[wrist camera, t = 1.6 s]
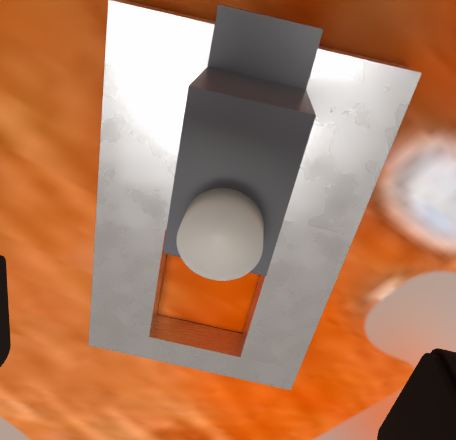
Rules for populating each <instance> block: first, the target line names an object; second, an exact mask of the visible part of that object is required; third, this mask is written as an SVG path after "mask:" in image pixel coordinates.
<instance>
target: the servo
mask: <svg viewBox="0 0 456 440" xmlns="http://www.w3.org/2000/svg"><path fill="white" fill-rule="evenodd" d="M322 33H323V29H322V28H319V27H314V26H310V25H306V24H301V23H297V22H293V21H289V20H284V19H280V18H276V17H272V16H267V15H263V14H259V13H255V12H250V11H246V10H242V9H238V8H233V7H229V6H225V5H220V4H218V8H217V14H216V19H215V25H214V31H213V37H212V43H211V48H210V54H209V60H208V66H207V68H206V69H205V70H204V71H203V72H202V73H201V74H200V75H199V76H198V77H197V78H196V79H195V80H194V81H193V82H192V83H191V84H190V85H189V86H188V93H187V99H186V106H185V112H184V119H183V125H182V132H181V138H180V145H179V151H178V158H177V164H176V171H175V177H174V184H173V190H172V197H171V203H170V210H169V216H168V223H167V229H166V235H165V242H164V248H163V253H166V254H170V255H175V256H179V257H181V259H182V260H183V262H184V263H185V264H186V265H187V266H188V267H189V268H190V269H191V270H192V271H194V272H195V273H197V274H198V275H200V276H203V277H205V278H208V279H212V280H219V281H227V280H233V279H237V278H240V277H242V276H244V275H246V274H248V273H249V272H250V273H254V274H259V275H263V276H266V275H267V272H268V269H269V266H270V262H271V259H272V256H273V253H274V249H275V246H276V243H277V240H278V236H279V233H280V230H281V227H282V224H283V220H284V217H285V214H286V211H287V207H288V204H289V201H290V198H291V195H292V191H293V188H294V185H295V182H296V178H297V175H298V172H299V169H300V165H301V162H302V159H303V156H304V153H305V149H306V146H307V143H308V140H309V136H310V133H311V130H312V127H313V124H314V120H315V117H316V114H315V111H314V109H313V106H312V104H311V101H310V99H309V96H308V93H307V91H306V88H307V85H308V81H309V78H310V74H311V71H312V67H313V64H314V60H315V57H316V54H317V50H318V47H319V43H320V40H321V36H322Z"/></svg>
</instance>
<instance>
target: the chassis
mask: <svg viewBox="0 0 456 440" xmlns="http://www.w3.org/2000/svg"><path fill="white" fill-rule="evenodd" d="M214 25H215V21H212V20H208V19H204V18H199V17H195V16H191V15H187V14H182V13H178V12H174V11H170V10H165V9H161V8H157V7H152V6H148V5H144V4H140V3H135V2H131V1H127V0H108V16H107V34H106V51H105V69H104V86H103V104H102V121H101V139H100V156H99V174H98V191H97V209H96V226H95V244H94V261H93V279H92V296H91V314H90V331H89V346H94V347H98V348H103V349H107V350H112V351H117V352H121V353H126V354H130V355H135V356H139V357H144V358H148V359H153V360H157V361H162V362H166V363H171V364H175V365H180V366H184V367H189V368H193V369H198V370H202V371H207V372H211V373H216V374H220V375H225V376H229V377H234V378H238V379H243V380H247V381H252V382H256V383H261V384H265V385H270V386H274V387H279V388H283V389H288V390H291V388H292V385H293V383H294V381H295V378H296V376H297V373H298V371H299V369H300V366H301V364H302V361H303V359H304V356H305V354H306V352H307V349H308V347H309V344H310V342H311V340H312V337H313V335H314V332H315V330H316V327H317V325H318V323H319V320H320V318H321V315H322V313H323V311H324V308H325V306H326V303H327V301H328V298H329V296H330V294H331V291H332V289H333V286H334V284H335V282H336V279H337V277H338V274H339V272H340V269H341V267H342V265H343V262H344V260H345V257H346V255H347V253H348V250H349V248H350V245H351V243H352V240H353V238H354V236H355V233H356V231H357V228H358V226H359V224H360V221H361V219H362V216H363V214H364V211H365V209H366V207H367V204H368V202H369V199H370V197H371V195H372V192H373V190H374V187H375V185H376V182H377V180H378V178H379V175H380V173H381V170H382V168H383V166H384V163H385V161H386V158H387V156H388V153H389V151H390V149H391V146H392V144H393V141H394V139H395V137H396V134H397V132H398V129H399V127H400V124H401V122H402V120H403V117H404V115H405V112H406V110H407V108H408V105H409V103H410V100H411V98H412V96H413V93H414V91H415V88H416V86H417V83H418V81H419V79H420V76H421V74H422V73H421V72H419V71H417V70H414V69H412V68H410V67H408V66H405V65H400V64H396V63H392V62H388V61H383V60H379V59H375V58H371V57H366V56H362V55H358V54H353V53H349V52H345V51H341V50H336V49H332V48H328V47H324V46H319V47H318V50H317V54H316V57H315V60H314V64H313V67H312V71H311V74H310V78H309V81H308V85H307V88H306V91H307V93H308V96H309V99H310V101H311V104H312V106H313V109H314V111H315V114H316V117H315V120H314V124H313V127H312V130H311V133H310V136H309V140H308V143H307V146H306V149H305V153H304V156H303V159H302V162H301V165H300V169H299V172H298V175H297V178H296V182H295V185H294V188H293V191H292V195H291V198H290V201H289V204H288V207H287V211H286V214H285V217H284V220H283V224H282V227H281V230H280V233H279V236H278V240H277V243H276V246H275V249H274V253H273V256H272V259H271V262H270V266H269V269H268V272H267V275H266V276H263V275H260V277H259V280H258V283H257V287H256V290H255V293H254V297H253V300H252V303H251V307H250V310H249V313H248V317H247V320H246V323H245V327H244V330H243V333H237V332H233V331H228V330H224V329H219V328H215V327H210V326H206V325H202V324H197V323H193V322H188V321H184V320H179V319H175V318H170V317H166V316H161V315H157V312H158V306H159V300H160V294H161V287H162V281H163V275H164V269H165V262H166V256H167V254H166V253H163V248H164V242H165V235H166V229H167V223H168V216H169V210H170V203H171V197H172V190H173V184H174V177H175V171H176V164H177V158H178V151H179V145H180V138H181V132H182V125H183V119H184V112H185V106H186V99H187V93H188V86H189V85H190V84H191V83H192V82H193V81H194V80H195V79H196V78H197V77H198V76H199V75H200V74H201V73H202V72H203V71H204V70H205V69H206V68H207V66H208V60H209V54H210V48H211V43H212V37H213V31H214Z"/></svg>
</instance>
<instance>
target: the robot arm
mask: <svg viewBox="0 0 456 440" xmlns="http://www.w3.org/2000/svg"><path fill="white" fill-rule="evenodd" d="M9 351H10V327H9V310H8V292H7V274H6V260H5V258H4V256H1V255H0V367H1V366H2V364H3V363H4V362H5V360H6V358H7V356H8V354H9ZM377 440H456V352H451V351H447V350H443V349H434V350H432V352H431V353H426V354H424V355H423V356H422V358H421V359H420V361H419V363H418V365H417V366H416V368H415V370H414V371H413V373H412V375H411V376H410V378H409V380H408V381H407V383H406V385H405V386H404V388H403V390H402V392H401V393H400V395H399V397H398V398H397V400H396V402H395V404H394V405H393V407H392V408H391V410H390V412H389V414H388V415H387V417H386V419H385V420H384V422H383V424H382V426H381V427H380V429H379V431H378V437H377Z"/></svg>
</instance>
